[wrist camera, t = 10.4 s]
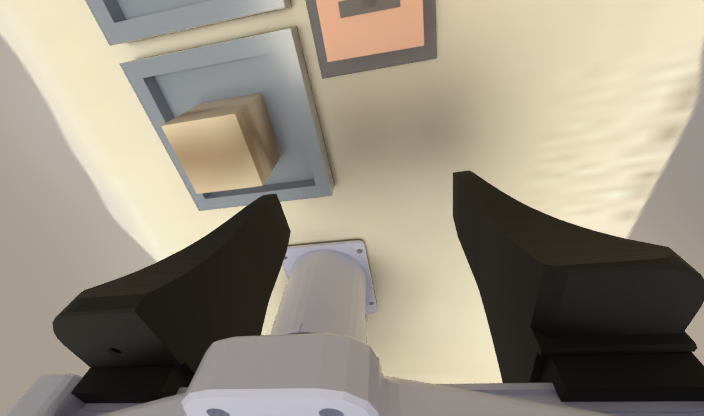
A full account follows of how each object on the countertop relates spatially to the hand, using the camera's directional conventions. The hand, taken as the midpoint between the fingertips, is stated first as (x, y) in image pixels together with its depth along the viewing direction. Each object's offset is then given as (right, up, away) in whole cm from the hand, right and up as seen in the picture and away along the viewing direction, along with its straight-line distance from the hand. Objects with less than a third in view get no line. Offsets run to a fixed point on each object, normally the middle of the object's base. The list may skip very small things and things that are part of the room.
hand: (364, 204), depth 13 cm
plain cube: (-8, +5, +9) cm, 14 cm away
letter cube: (0, +11, +4) cm, 12 cm away
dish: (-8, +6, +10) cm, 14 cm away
